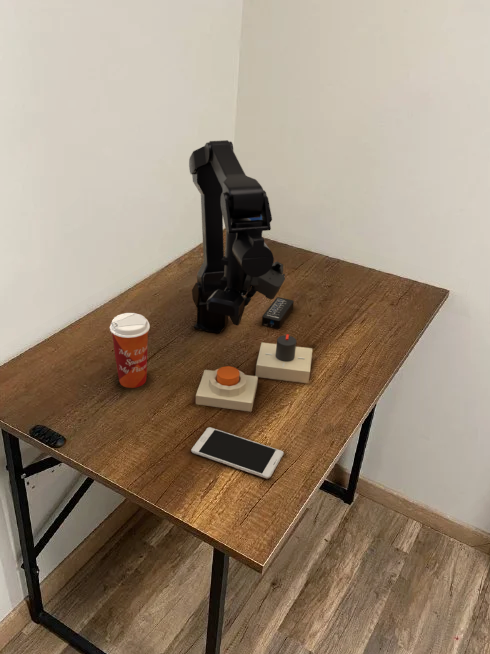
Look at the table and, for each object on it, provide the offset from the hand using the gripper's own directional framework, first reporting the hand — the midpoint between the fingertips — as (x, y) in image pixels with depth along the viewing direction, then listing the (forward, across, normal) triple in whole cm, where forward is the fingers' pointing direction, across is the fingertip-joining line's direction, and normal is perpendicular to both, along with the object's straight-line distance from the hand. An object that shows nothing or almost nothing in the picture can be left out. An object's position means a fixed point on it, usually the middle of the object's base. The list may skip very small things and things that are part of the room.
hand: (236, 324), depth 126 cm
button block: (+12, -8, -2) cm, 14 cm away
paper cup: (+12, -11, +18) cm, 24 cm away
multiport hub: (+12, +26, -2) cm, 29 cm away
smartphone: (+11, -24, -9) cm, 28 cm away
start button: (+8, -8, -1) cm, 11 cm away
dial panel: (+12, +5, -9) cm, 16 cm away
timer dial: (+9, +5, -9) cm, 14 cm away
